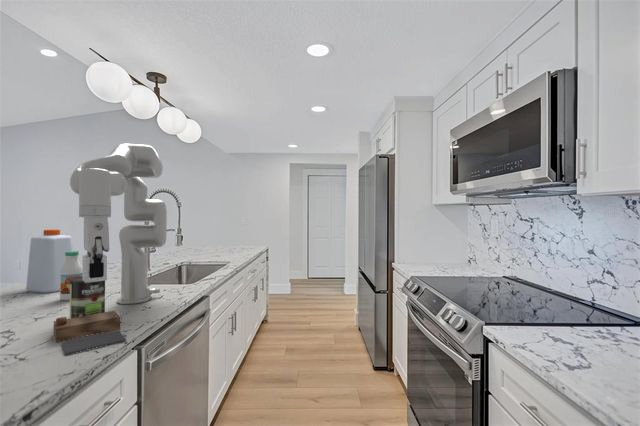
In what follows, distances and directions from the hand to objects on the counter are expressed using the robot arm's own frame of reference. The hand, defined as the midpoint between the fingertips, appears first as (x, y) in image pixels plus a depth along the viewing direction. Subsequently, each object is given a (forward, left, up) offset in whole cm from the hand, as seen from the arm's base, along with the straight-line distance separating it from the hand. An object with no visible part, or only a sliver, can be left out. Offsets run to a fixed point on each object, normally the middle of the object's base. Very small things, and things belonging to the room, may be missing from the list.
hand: (94, 275), depth 92 cm
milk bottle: (-1, -61, -20) cm, 64 cm away
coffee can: (-2, -27, -20) cm, 33 cm away
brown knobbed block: (0, -12, -20) cm, 23 cm away
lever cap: (0, 0, -1) cm, 1 cm away
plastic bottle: (+4, -86, -20) cm, 88 cm away
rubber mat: (0, 0, -20) cm, 20 cm away
